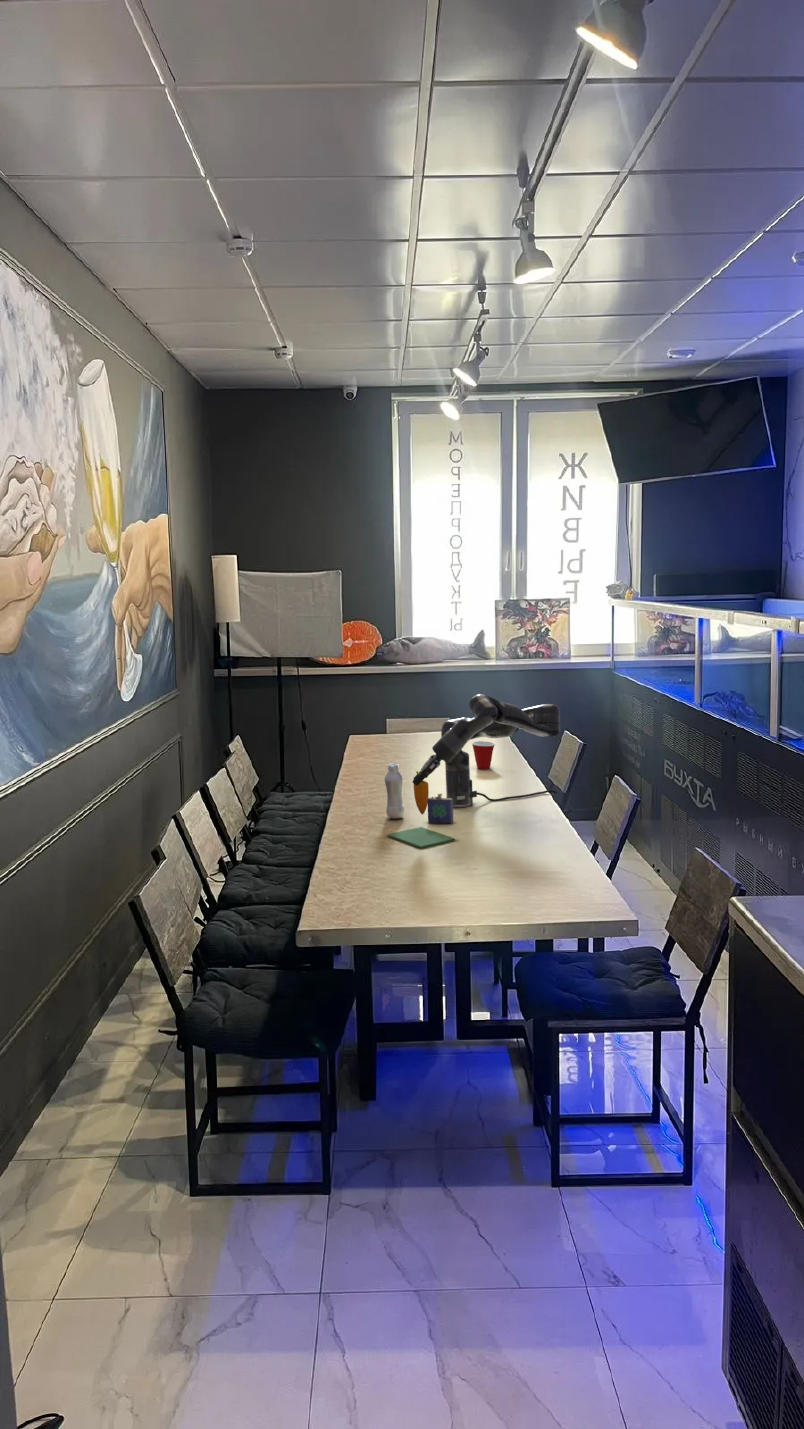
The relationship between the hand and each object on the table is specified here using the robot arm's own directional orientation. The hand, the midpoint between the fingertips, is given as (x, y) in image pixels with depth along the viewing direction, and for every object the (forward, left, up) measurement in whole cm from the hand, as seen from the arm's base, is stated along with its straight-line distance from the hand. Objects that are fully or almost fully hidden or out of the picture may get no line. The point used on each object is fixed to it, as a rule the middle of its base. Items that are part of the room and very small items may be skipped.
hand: (415, 782), depth 320 cm
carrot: (-2, +1, -11) cm, 11 cm away
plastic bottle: (-10, -29, -20) cm, 36 cm away
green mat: (-1, 0, -20) cm, 20 cm away
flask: (-18, -12, -20) cm, 30 cm away
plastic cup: (-90, -77, -20) cm, 120 cm away
